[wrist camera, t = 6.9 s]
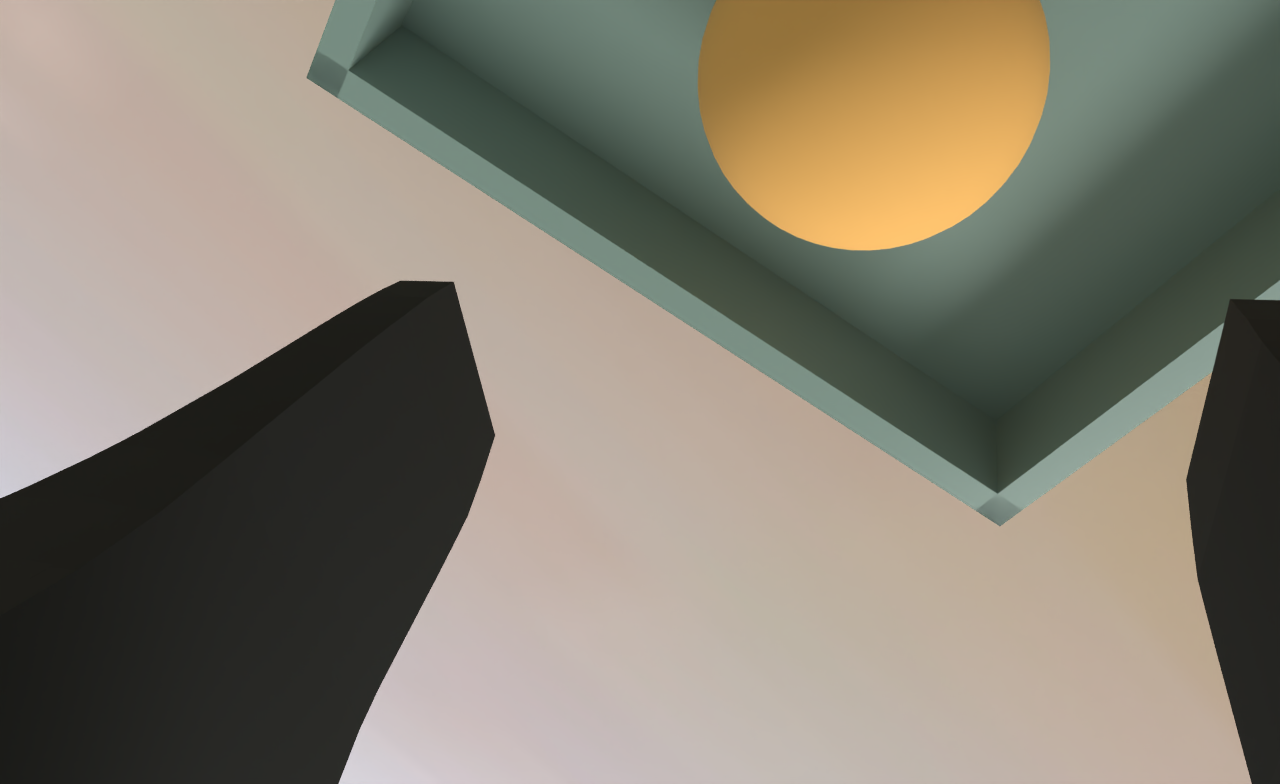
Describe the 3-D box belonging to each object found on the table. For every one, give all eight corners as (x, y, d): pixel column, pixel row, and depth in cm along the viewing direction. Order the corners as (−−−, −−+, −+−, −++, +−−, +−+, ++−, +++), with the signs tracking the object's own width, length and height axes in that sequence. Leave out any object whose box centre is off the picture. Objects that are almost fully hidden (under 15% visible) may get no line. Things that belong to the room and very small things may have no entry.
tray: (1536, -1, 16) (1624, 71, 13) (998, 434, 23) (999, 526, 21) (676, -711, 13) (619, -760, 11) (376, 21, 20) (306, 78, 18)
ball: (1098, -95, 16) (1141, 21, 12) (965, 193, 19) (966, 357, 15) (774, -186, 16) (715, -100, 12) (697, 114, 19) (633, 255, 15)
